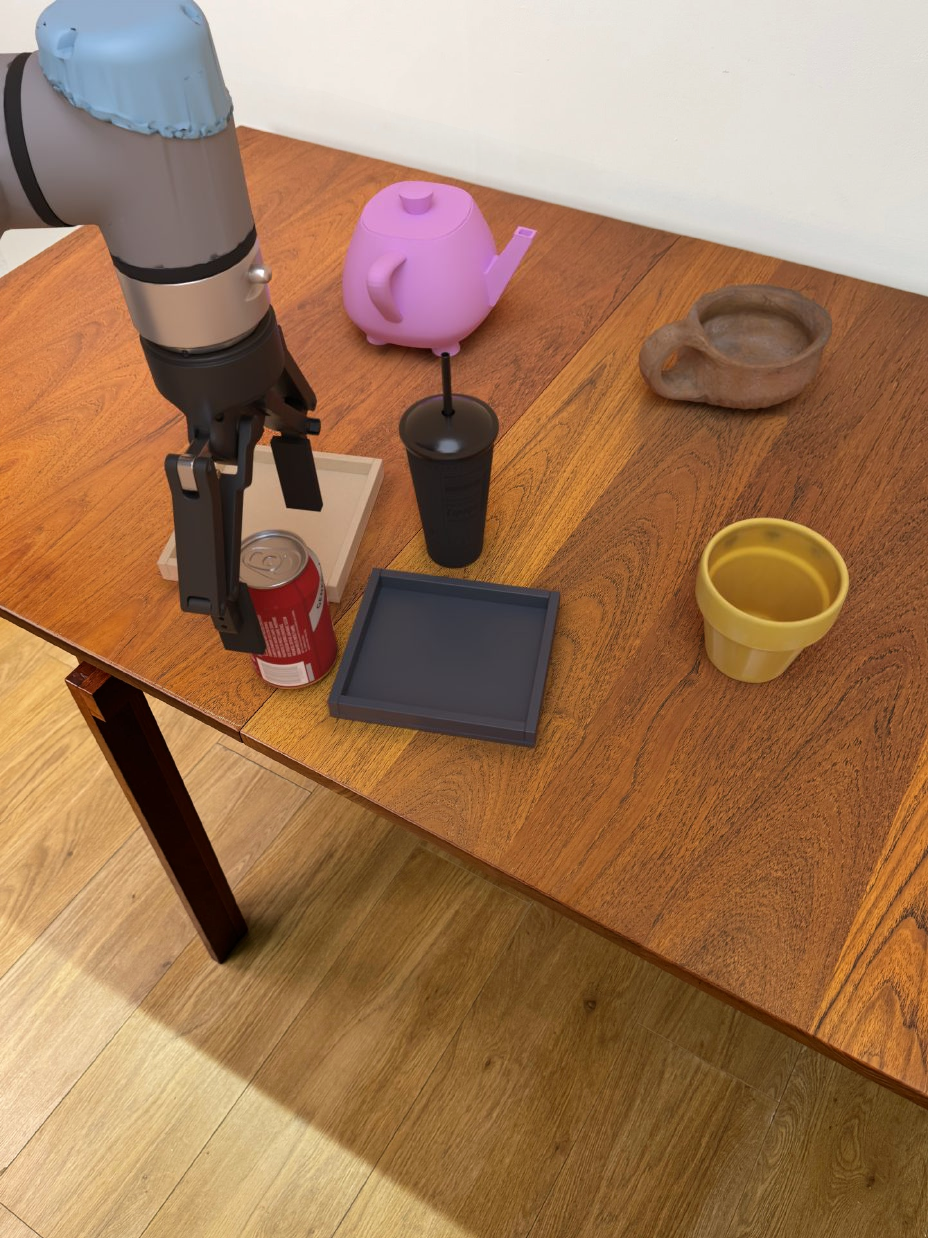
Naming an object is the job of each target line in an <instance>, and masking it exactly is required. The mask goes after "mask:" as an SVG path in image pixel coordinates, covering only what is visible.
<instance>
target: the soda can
mask: <svg viewBox="0 0 928 1238" xmlns="http://www.w3.org/2000/svg"><path fill="white" fill-rule="evenodd" d="M239 582H243V583H247V586H248V589H249V592H250V595H251V598H252V601H253V604H254V608H255V611H256V614H257V617H258V620H259V623H260V626H261V630H262V633H263V636H264V639H265V642H266V645H267V647H266V650H265V652H264V655H258V654H251V653H248V655H249V658H250V662H251V665H252V668H253V670H254V672H255V674H256V675H257V676H258V678H259V679H261V680H262V681H263V682H264V683H265V684H267V685H269V686H272V687H274V688H278V689H282V690H298V689H303V688H306V687H309V686H311V685H314V684H315V683H318V682H319V681H321V680H322V679H323V678H324V677H326V676H327V675H328V674H329V673H330V672H331V671H332V669H333V667H334V666H335V664H336V662H337V658H338V655H339V646H338V641H337V635H336V633H335V628H334V622H333V617H332V612H331V608H330V602H328V598H327V593H326V588H325V584H324V579H323V574H322V569H321V565H320V562H319V559H318V558H317V556H316V554H315V553H314V552H313V551H312V550H311V549H310V548H308V547H307V545H306V543H305V542H304V540H303V539H302V538H301V537H299V536H298V535H296V534H295V533H292V532H290V531H286V530H281V529H269V530H263V531H259V532H256V533H254V534H252V535H250V536H248V537H246V538H245V539H243V540H242V541H241V558H240V578H239Z"/></svg>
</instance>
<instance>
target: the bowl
mask: <svg viewBox="0 0 928 1238" xmlns="http://www.w3.org/2000/svg"><path fill="white" fill-rule="evenodd" d="M832 333H833V319H832V316H831V314H830V312H828V310H827V309H825V308H824V307H823V306H822V304H820V303H818V302H817V301H816V300H813V299H811V298H809V297H807V296H805V295H804V294H802V293H801V292H799V291H798V290H796V289H792V288H788V287H783V286H776V285H772V284H760V283H751V284H749V283H748V284H735V285H727V286H723V287H720V288H719V287H718V288H717V289H715V290H714V291H709V292H706V293H703V295H701V297H699V298H698V299H697V300H696V301H695V302H694V303H693V304H692V305H691V308H689V311H688V312H687V315H686V317H685V318H683V319H680V320H676V321H671V322H669V323H667V324H664V325H662V326H660V327H659V328H656V330H654V331H653V332H652V333H650V334H649V335H648V337H647V338H646V339H645V340H644V341H643V343H642V345H641V347H640V350H639V353H638V369H639V372H640V375H641V377H642V379H643V381H644V383H645V385H646V386H647V387H648V389H649V390H651V391H652V393H654V394H655V395H657V396H659V397H662V398H665V399H668V400H672V401H673V400H675V401H689V402H695V403H706V404H708V405H710V406H720V407H723V408H731V409H740V410H749V409H752V410H757V409H760V408H763V409H764V408H770V407H772V406H774V405H780V404H781V403H783V402H786V401H789V400H791V399H793V398H795V397H798V396H799V395H800V394H801V393H802V392H803V391H805V390H806V389H807V388H808V387H809V385H810V383H811V382H812V381H813V380H814V379H815V377H816V375H817V372H818V370H820V369H819V368H820V365H821V361H822V359H823V358H822V357H823V354H824V349H825V348H826V346H827V344H828V342H829V341H830V338H831V336H832ZM676 351H677V353H676V354H677V355H676V360H675V362H674V364H673V365H672V366H671V367H670V368H668V369H666V370H664V369H663V368H664V365H665V363H666V362H667V360H668V359H669V358H670V357H671V356H672V355H673V354H674V353H675V352H676ZM662 369H663V370H662Z"/></svg>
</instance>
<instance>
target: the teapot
mask: <svg viewBox="0 0 928 1238" xmlns="http://www.w3.org/2000/svg"><path fill="white" fill-rule="evenodd" d="M537 234H538V230H536V229H532V228H529V227H524V226H520V225H518V226H517V228H516V230H515V231H514V232H513V236H512V237H511V239H510V240H509V242H508V243H507V245H505V247H504V249H503V250H502V251H501V253H500V254H499V252H498V249H497V244H496V241H495V239H494V235H493V232H492V230H491V228H490V227H489V224H488V222H487V221H486V219H485V217H484V215H483V213H482V211H481V210H480V208H479V206H478V204H477V203H476V201H475V200H474V198H473V196H472V195H471V194H470V193H469V192H467V191H466V190H464V189H463V188H460V187H457V186H454V185H451V184H450V185H449V184H445V183H439V182H432V181H423V180H404V181H399V182H395V183H393V184H390V185H388V186H386V187H384V188H383V189H381V190H380V191H378V192H377V193H376V194H375V195H374V196H373V197H372V198H371V199H370V200H369V201H368V202H367V203H366V204H365V206H364V208H363V209H362V211H361V214H360V216H359V218H358V220H357V222H356V224H355V228H354V230H353V233H352V235H351V238H350V241H349V244H348V246H347V250H346V255H345V259H344V264H343V270H342V271H343V272H342V282H341V283H342V284H341V287H342V289H341V290H342V291H341V292H342V299H343V300H342V301H343V307H344V310H345V313H346V315H347V316H348V318H349V319H350V320H351V322H353V323H354V324H355V326H357V327H358V328H359V329H360V330H361V331H362V332H364V333H365V334H366V340H367V342H368V343H370V344H373V345H376V346H381V345H382V346H384V345H387V344H394V345H398V346H403V347H410V348H420V349H430V350H431V352H432V354H434V356H438V357H440V358H441V353H443V352H448V353H450V357H453V356H456V355H457V354H458V353H459V352H460V350H461V345H460V343H459V342H461V341H463V340H464V339H466V338H467V337H469V335H471V334H472V333H473V332H474V331H475V330H476V329H478V327H479V326H480V325H482V323H483V322H484V320H485V319H486V318H487V317H488V316H489V315H490V313H491V312H492V309H494V307H495V306H496V304H497V303H498V302H499V299H500V298H501V296H502V295H503V293H504V292H505V290H506V288H507V287H508V286H509V283H510V282H511V280H512V278H513V277H514V275H515V274H516V271H517V270H518V267H519V266H520V264H521V262H522V261H523V259H524V257H525V256H526V253H527V252H528V250H529V249H530V247H531V245H532V244H533V242H534V240H535V238H536V236H537Z"/></svg>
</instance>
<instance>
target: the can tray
mask: <svg viewBox="0 0 928 1238" xmlns="http://www.w3.org/2000/svg"><path fill="white" fill-rule="evenodd" d="M560 604H561V591H559V590H550V589H541V588H534V587H526V586H520V585H519V586H518V585H511V584H503V583H495V582H488V581H480V580H472V579H464V578H457V577H449V576H442V575H435V574H426V573H419V572H412V571H411V572H410V571H404V570H395V569H387V568H381V567H372V569H371V571H370V574H369V577H368V580H367V584H366V585H365V589H364V592H363V595H362V598H361V600H360V603H359V607H358V610H357V613H356V615H355V618H354V621H353V625H352V628H351V630H350V633H349V635H348V640H347V642H346V645H345V648H344V651H343V654H342V656H341V660H340V663H339V666H338V668H337V673H336V675H335V678H334V680H333V684H332V687H331V690H330V692H329V695H328V699H327V706H328V711H329V714H330V717H331V718H335V719H341V720H347V721H355V722H360V723H368V724H375V725H381V726H388V727H394V728H400V729H407V730H412V731H413V730H414V731H420V732H427V733H433V734H439V735H446V736H451V737H452V736H453V737H459V738H467V739H473V740H480V741H486V742H492V743H499V744H505V745H512V746H518V747H524V748H531V749H535V747H536V743H537V737H538V733H539V724H540V720H541V715H542V708H543V704H544V698H545V690H546V685H547V680H548V674H549V670H550V663H551V657H552V653H553V646H554V640H555V635H556V629H557V624H558V618H559V612H560V606H561V605H560Z"/></svg>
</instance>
